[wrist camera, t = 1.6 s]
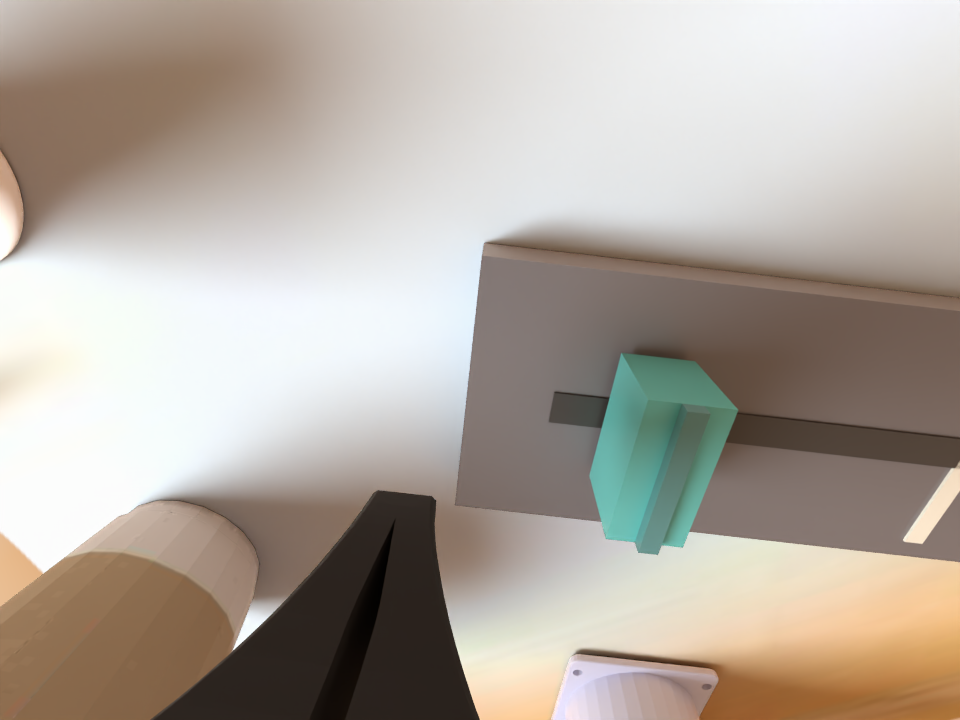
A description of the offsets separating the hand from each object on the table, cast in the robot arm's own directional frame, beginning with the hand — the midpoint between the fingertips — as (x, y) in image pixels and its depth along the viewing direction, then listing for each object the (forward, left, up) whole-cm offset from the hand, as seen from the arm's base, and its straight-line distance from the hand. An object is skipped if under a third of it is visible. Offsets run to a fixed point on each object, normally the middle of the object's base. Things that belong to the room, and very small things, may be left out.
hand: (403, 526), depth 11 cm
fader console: (0, -13, -8) cm, 15 cm away
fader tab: (0, -7, -6) cm, 9 cm away
